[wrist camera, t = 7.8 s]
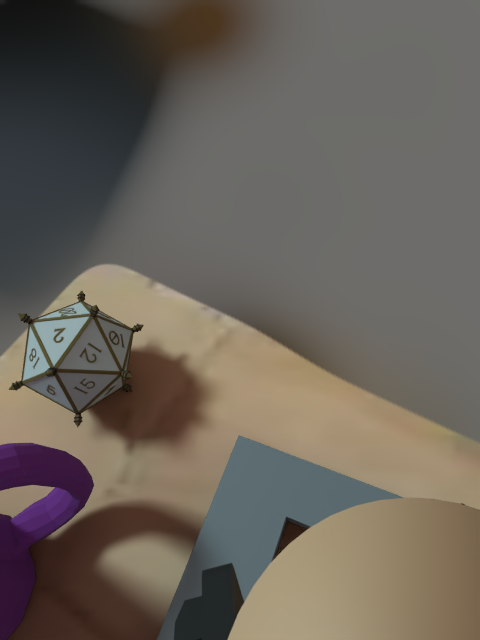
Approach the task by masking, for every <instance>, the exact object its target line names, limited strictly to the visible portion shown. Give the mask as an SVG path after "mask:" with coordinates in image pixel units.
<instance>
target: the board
mask: <svg viewBox="0 0 480 640" xmlns="http://www.w3.org/2000/svg"><path fill="white" fill-rule="evenodd" d="M397 498H403V497H401V496H398V495H395V494H393V493H390V492H387V491H385V490H382V489H380V488H377V487H374V486H372V485H369V484H366V483H364V482H361V481H358V480H356V479H353V478H350V477H348V476H345V475H343V474H340V473H337V472H335V471H332V470H329V469H327V468H324V467H321V466H319V465H316V464H313V463H311V462H308V461H306V460H303V459H300V458H298V457H295V456H292V455H290V454H287V453H284V452H282V451H279V450H276V449H274V448H271V447H269V446H266V445H263V444H261V443H258V442H255V441H253V440H250V439H247V438H245V437H242V436H238V438H237V441H236V443H235V446H234V448H233V451H232V453H231V456H230V458H229V461H228V463H227V466H226V468H225V471H224V473H223V476H222V478H221V481H220V483H219V486H218V488H217V491H216V493H215V496H214V498H213V501H212V503H211V506H210V508H209V511H208V513H207V516H206V518H205V521H204V523H203V526H202V528H201V531H200V533H199V536H198V538H197V541H196V543H195V546H194V548H193V551H192V553H191V556H190V558H189V561H188V563H187V566H186V568H185V571H184V573H183V576H182V578H181V581H180V583H179V586H178V588H177V590H176V593H175V595H174V598H173V600H172V603H171V605H170V608H169V610H168V613H167V615H166V618H165V620H164V623H163V625H162V628H161V630H160V633H159V635H158V638H157V640H174V628H175V621H176V619H177V616H178V614H179V612H180V610H181V607H182V605H183V603H184V601H185V600H188V599H192V598H195V597H199V596H202V571H203V570H205V569H209V568H213V567H217V566H221V565H225V564H228V563H232V564H233V566H234V569H235V573H236V576H237V580H238V583H239V586H240V590H241V593H242V597H243V600H244V602H245V600H246V598H247V597H248V595H249V593H250V591H251V589H252V588H253V586H254V585H255V583H256V582H257V581H258V579H259V578H260V576H261V575H262V574H263V572H264V571H265V570H266V568H267V567H268V566H269V564H270V563H271V562H272V561H273V560H274V559H275V556H276V553H277V550H278V547H279V544H280V541H281V538H282V535H283V532H284V529H285V526H286V522H287V521H289V522H292V523H294V524H296V525H299V526H301V527H304V528H306V529H309V528H310V527H312V526H314V525H315V524H317V523H319V522H321V521H322V520H324V519H326V518H328V517H329V516H331V515H333V514H336V513H338V512H341V511H343V510H346V509H348V508H351V507H354V506H357V505H361V504H365V503H369V502H374V501H378V500H385V499H397Z"/></svg>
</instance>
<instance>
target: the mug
mask: <svg viewBox="0 0 480 640" xmlns="http://www.w3.org/2000/svg"><path fill="white" fill-rule="evenodd" d="M27 485H40V486H49V487H55V488H54V489H53V490H52V491H51V492H50V493H49V494H48V495H47V496H46V497H44V498H42V499H41V500H39V501H37V502H35V503H33V504H32V505H30V506H29V507H28V508H26V509H25V510H24V511H22V512H21V513H19V514H18V515H17V516H15V517H14V518H13V519H12V518H11V517H10V516H8V515H3V514H0V640H7V639H8V637H9V636H10V635H11V634H12V633H13V632H14V630H15V629H16V628H17V627H18V626H19V625H20V623H21V622H22V619H23V616H24V613H25V610H26V607H27V604H28V601H29V598H30V595H31V592H32V589H33V586H34V583H35V580H36V576H35V568H34V562H33V560H32V557H31V555H30V553H29V548H30V546H31V545H33V544H35V543H36V542H38V541H40V540H42V539H44V538H46V537H47V536H49V535H50V534H52V533H53V532H54V531H56V530H57V529H59V528H60V527H61V526H63V525H64V524H66V523H67V522H68V521H69V520H71V519H72V518H73V517H74V516H75V515H76V514H77V513H78V512H79V511H80V510H81V509H82V508H83V507H84V506H85V504H86V502H87V500H88V498H89V496H90V494H91V492H92V489H93V487H94V483H93V480H92V476H91V475H90V473H89V472H88V470H87V469H86V467H85V466H84V464H83V463H82V462H81V461H80V460H79V459H77V458H76V457H74V456H72V455H70V454H69V453H67V452H65V451H62V450H58V449H54V448H50V447H46V446H42V445H38V444H34V443H11V444H4V445H0V490H5V489H9V488H13V487H20V486H27Z"/></svg>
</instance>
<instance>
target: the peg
mask: <svg viewBox="0 0 480 640" xmlns="http://www.w3.org/2000/svg"><path fill="white" fill-rule="evenodd" d="M227 640H480V510H478V509H475V508H472V507H469V506H465V505H462V504H458V503H452V502H447V501H441V500H436V499H423V498H397V499H385V500H378V501H374V502H369V503H365V504H361V505H357V506H354V507H351V508H348V509H346V510H343V511H341V512H338V513H336V514H333V515H331V516H329V517H328V518H326V519H324V520H322V521H321V522H319V523H317V524H315V525H314V526H312V527H310V528H309V529H307V530H306V531H305V532H304V533H302V534H301V535H300V536H298V537H297V538H296V539H295V540H293V541H292V542H291V543H289V544H288V545H287V547H286V548H285V549H284V550H283V551H282V552H281V553H280V554H279V555H278V556H277V557H276V558H275V559H274V560H273V561H272V562H271V563H270V564H269V566H268V567H267V568H266V570H265V571H264V572H263V574H262V575H261V576H260V578H259V579H258V581H257V582H256V583H255V585H254V586H253V588H252V589H251V591H250V593H249V595H248V597H247V598H246V600H245V602H244V604H243V606H242V607H241V609H240V611H239V613H238V615H237V617H236V620H235V622H234V625H233V627H232V630H231V632H230V634H229V637H228V639H227Z"/></svg>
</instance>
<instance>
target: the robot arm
mask: <svg viewBox="0 0 480 640" xmlns="http://www.w3.org/2000/svg"><path fill="white" fill-rule="evenodd" d="M462 505H464V504H462ZM465 506H466V505H465ZM243 604H244V600H243V597H242V593H241V590H240V586H239V583H238V580H237V576H236V573H235V569H234V566H233V564H232V563H228V564H225V565H221V566H217V567H213V568H209V569H205V570H203V571H202V596H199V597H195V598H192V599H188V600H185V601H184V603H183V605H182V607H181V610H180V612H179V614H178V616H177V619H176V621H175V628H174V640H227V639H228V637H229V634H230V632H231V630H232V627H233V625H234V622H235V620H236V617H237V615H238V613H239V611H240V609H241V607H242V606H243Z"/></svg>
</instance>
